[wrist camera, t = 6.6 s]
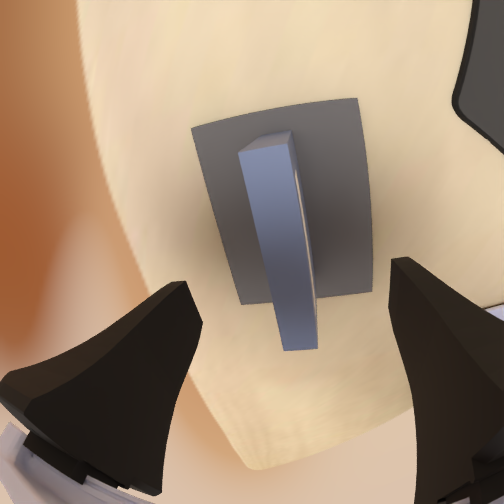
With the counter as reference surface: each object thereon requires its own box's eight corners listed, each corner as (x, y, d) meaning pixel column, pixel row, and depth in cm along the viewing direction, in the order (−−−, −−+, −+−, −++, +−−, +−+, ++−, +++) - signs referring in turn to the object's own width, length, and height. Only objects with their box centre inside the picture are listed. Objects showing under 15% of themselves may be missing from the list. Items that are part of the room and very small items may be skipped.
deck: (315, 277, 17) (318, 348, 12) (290, 279, 18) (283, 351, 13) (291, 130, 13) (287, 143, 8) (260, 135, 14) (237, 152, 9)
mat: (371, 288, 18) (372, 291, 17) (242, 301, 20) (241, 304, 19) (355, 98, 12) (357, 97, 12) (193, 127, 14) (190, 128, 14)
